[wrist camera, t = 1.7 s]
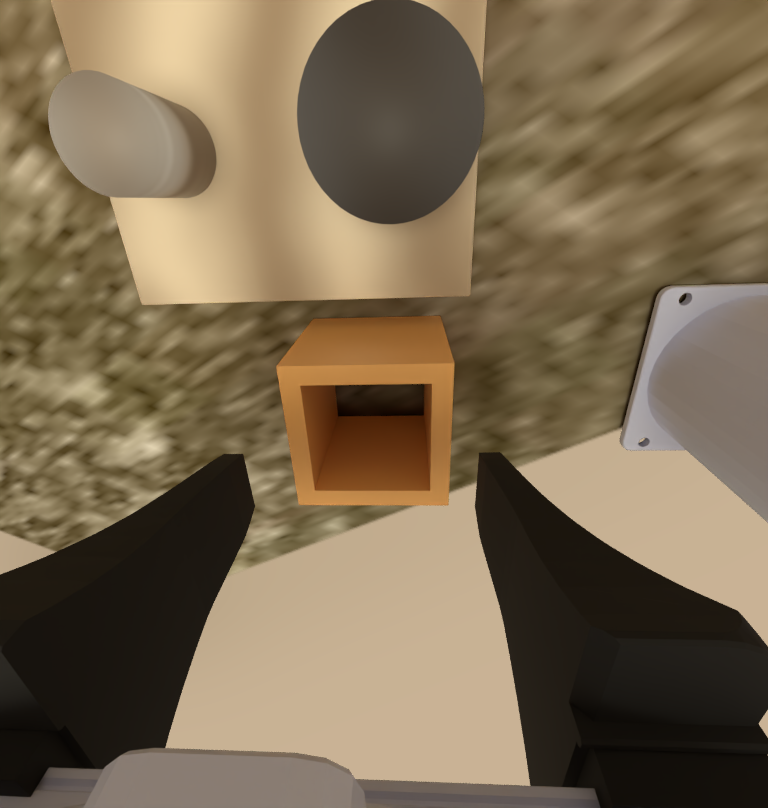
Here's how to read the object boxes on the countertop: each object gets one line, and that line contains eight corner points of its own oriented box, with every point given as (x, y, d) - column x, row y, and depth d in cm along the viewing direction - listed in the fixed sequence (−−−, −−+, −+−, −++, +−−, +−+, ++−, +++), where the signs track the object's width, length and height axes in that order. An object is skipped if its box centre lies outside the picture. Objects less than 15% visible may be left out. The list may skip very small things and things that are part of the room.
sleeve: (440, 315, 18) (454, 363, 13) (437, 427, 21) (448, 505, 16) (313, 318, 19) (276, 366, 13) (325, 428, 21) (299, 504, 16)
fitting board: (484, -64, 13) (528, -211, 8) (466, 290, 18) (487, 322, 13) (64, -31, 14) (-109, -147, 9) (157, 298, 19) (75, 331, 14)
